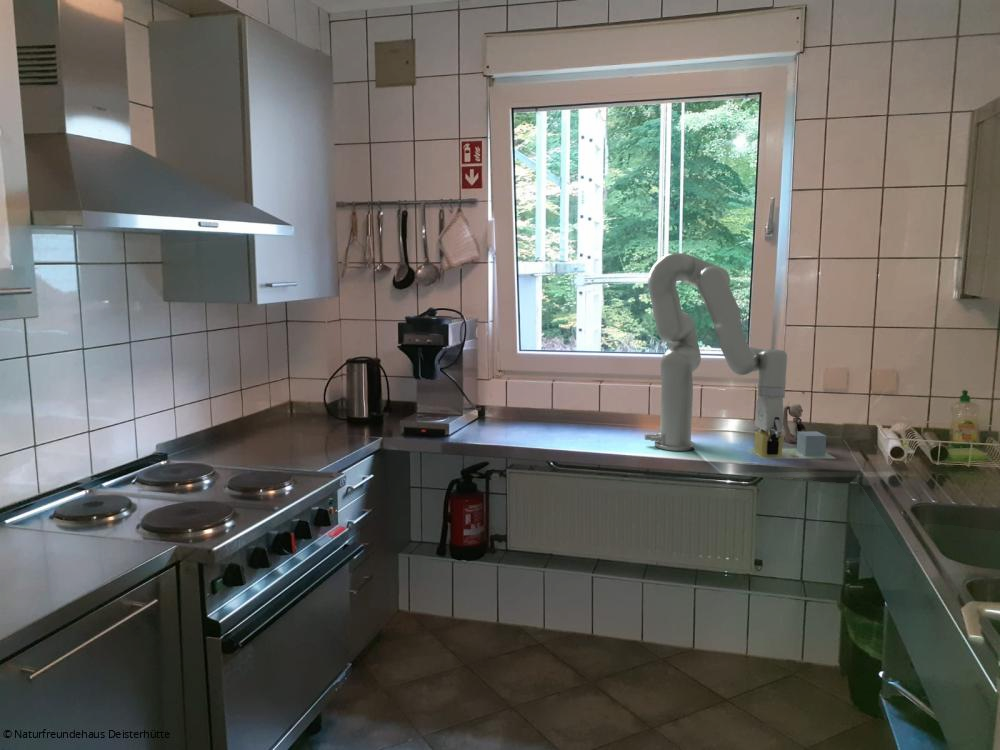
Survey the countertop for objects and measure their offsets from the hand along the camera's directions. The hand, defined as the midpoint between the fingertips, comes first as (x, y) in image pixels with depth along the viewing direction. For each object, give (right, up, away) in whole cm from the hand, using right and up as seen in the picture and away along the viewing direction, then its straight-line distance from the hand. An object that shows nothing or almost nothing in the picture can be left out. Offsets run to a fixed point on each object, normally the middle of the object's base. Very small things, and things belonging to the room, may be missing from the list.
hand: (767, 451), depth 230 cm
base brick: (+13, -1, +1) cm, 13 cm away
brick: (0, -1, 0) cm, 1 cm away
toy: (+14, 0, +18) cm, 23 cm away
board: (+7, -2, +1) cm, 7 cm away
